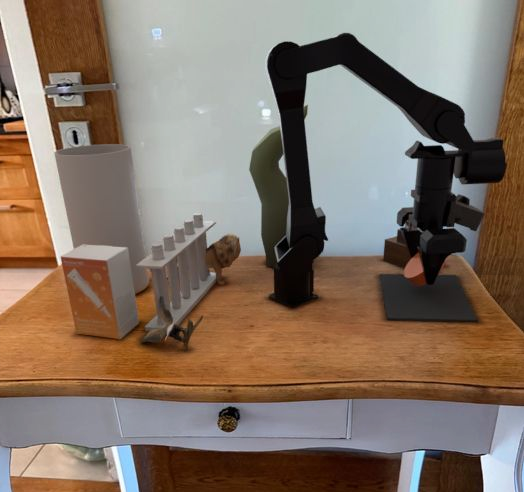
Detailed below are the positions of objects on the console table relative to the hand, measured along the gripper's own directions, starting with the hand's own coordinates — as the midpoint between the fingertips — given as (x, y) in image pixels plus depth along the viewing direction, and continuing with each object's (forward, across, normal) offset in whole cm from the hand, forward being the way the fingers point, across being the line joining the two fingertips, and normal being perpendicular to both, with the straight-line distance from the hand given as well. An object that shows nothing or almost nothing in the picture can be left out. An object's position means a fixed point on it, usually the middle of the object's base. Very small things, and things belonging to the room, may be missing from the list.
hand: (423, 276), depth 97 cm
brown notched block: (+3, +15, -3) cm, 16 cm away
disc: (+1, 0, +3) cm, 3 cm away
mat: (+3, -2, 0) cm, 4 cm away
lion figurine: (+3, +11, +38) cm, 40 cm away
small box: (+3, -9, +54) cm, 54 cm away
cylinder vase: (+3, +9, +56) cm, 57 cm away
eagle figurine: (+3, -15, +43) cm, 46 cm away
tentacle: (+3, +19, +23) cm, 31 cm away
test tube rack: (+3, +1, +42) cm, 42 cm away
